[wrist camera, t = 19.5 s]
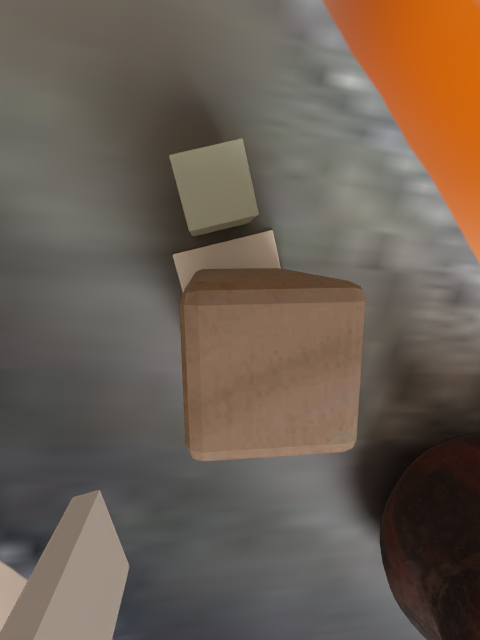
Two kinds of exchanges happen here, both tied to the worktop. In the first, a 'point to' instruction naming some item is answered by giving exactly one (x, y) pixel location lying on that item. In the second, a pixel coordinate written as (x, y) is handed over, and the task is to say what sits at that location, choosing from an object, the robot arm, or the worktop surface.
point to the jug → (437, 540)
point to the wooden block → (270, 363)
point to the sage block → (215, 187)
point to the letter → (229, 256)
